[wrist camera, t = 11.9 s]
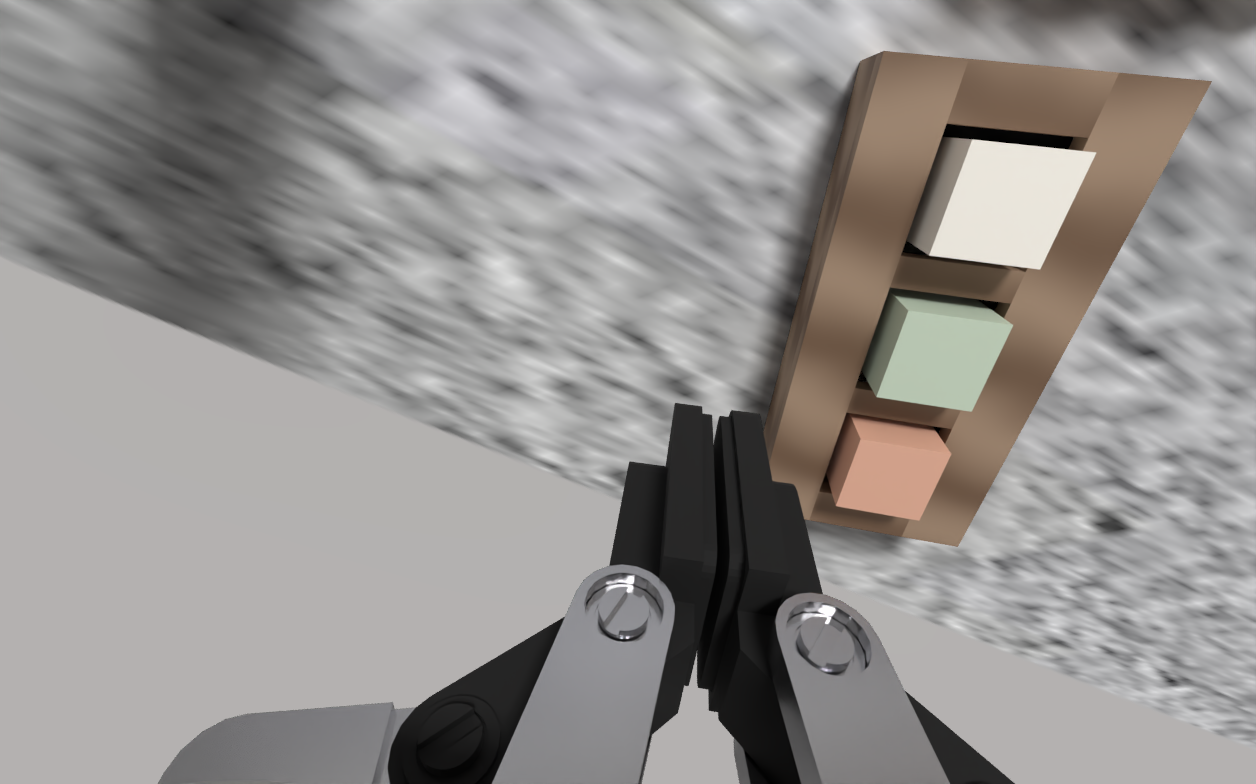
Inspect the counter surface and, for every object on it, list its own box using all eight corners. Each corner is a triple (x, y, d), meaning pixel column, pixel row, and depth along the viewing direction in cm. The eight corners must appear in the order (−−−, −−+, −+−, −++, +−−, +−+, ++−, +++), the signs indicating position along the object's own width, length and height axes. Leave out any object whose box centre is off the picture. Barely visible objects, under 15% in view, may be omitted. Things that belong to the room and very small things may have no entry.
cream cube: (935, 136, 24) (972, 139, 20) (1039, 147, 23) (1096, 152, 20) (900, 236, 26) (929, 255, 22) (996, 248, 25) (1040, 269, 22)
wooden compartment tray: (860, 61, 24) (883, 50, 21) (1137, 87, 23) (1212, 81, 19) (752, 472, 36) (756, 510, 32) (933, 503, 34) (957, 546, 31)
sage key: (884, 285, 27) (908, 310, 23) (974, 298, 26) (1013, 325, 23) (857, 363, 29) (876, 396, 26) (941, 376, 29) (971, 411, 25)
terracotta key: (844, 402, 30) (860, 439, 27) (924, 414, 30) (951, 453, 26) (823, 464, 32) (835, 506, 29) (897, 476, 32) (919, 520, 28)
